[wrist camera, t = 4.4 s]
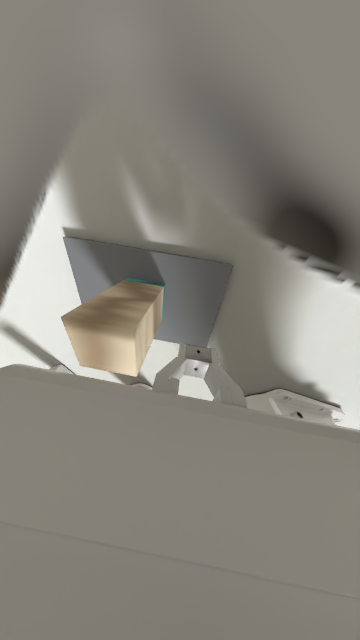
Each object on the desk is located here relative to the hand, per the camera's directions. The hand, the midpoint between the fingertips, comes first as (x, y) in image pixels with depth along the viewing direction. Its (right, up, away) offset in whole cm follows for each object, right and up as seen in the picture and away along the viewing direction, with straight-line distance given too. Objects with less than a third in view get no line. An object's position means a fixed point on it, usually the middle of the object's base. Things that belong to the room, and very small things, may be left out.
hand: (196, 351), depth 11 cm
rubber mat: (-6, +6, +9) cm, 12 cm away
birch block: (-6, +6, +7) cm, 11 cm away
